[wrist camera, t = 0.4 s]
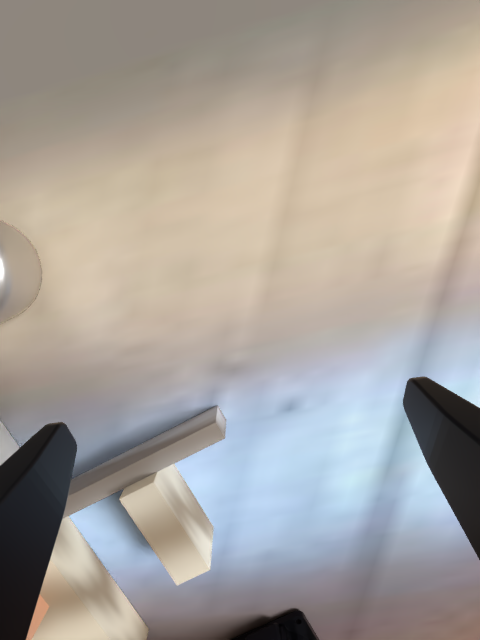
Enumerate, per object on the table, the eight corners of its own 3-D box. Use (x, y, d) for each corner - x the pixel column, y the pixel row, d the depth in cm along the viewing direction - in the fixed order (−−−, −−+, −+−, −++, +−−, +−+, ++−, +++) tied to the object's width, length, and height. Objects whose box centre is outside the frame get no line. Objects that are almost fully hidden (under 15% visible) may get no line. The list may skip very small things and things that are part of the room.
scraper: (271, 498, 24) (277, 538, 21) (129, 566, 25) (112, 615, 22) (217, 404, 23) (214, 430, 19) (68, 480, 24) (40, 517, 20)
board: (148, 629, 26) (137, 677, 23) (-3, 699, 27) (-32, 753, 24) (39, 475, 23) (11, 506, 20) (-123, 558, 24) (-172, 599, 21)
